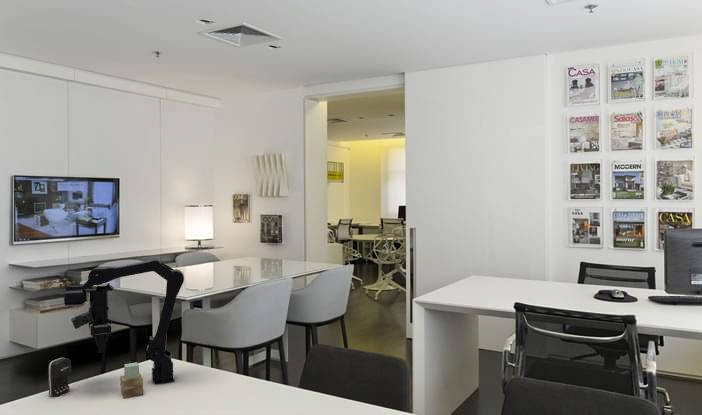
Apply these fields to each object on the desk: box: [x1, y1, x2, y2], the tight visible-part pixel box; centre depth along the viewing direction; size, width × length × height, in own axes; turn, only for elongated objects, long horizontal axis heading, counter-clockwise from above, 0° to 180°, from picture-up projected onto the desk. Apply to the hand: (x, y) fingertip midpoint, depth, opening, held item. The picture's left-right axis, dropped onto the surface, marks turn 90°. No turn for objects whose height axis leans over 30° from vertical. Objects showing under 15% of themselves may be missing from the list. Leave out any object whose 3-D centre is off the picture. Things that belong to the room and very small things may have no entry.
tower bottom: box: [120, 386, 144, 400], centre depth 177 cm, size 6×6×3 cm
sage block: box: [123, 362, 140, 380], centre depth 177 cm, size 4×4×4 cm
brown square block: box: [119, 372, 144, 390], centre depth 177 cm, size 6×6×3 cm
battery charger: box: [47, 357, 72, 397], centre depth 178 cm, size 7×4×11 cm, turn 166°
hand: (99, 349), depth 184 cm, fingers open, 9 cm apart
